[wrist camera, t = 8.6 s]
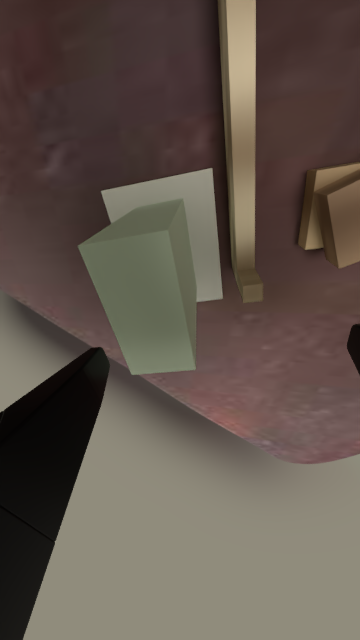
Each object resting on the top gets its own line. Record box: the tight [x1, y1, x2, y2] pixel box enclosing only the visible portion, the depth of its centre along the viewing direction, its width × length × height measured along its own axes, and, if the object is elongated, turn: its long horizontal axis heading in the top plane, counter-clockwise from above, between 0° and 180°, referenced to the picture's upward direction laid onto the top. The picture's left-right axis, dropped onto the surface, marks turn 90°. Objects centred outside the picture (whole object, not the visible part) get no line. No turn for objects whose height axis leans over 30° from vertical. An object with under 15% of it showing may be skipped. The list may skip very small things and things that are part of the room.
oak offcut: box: [298, 162, 360, 250], centre depth 16 cm, size 5×7×2 cm
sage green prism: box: [78, 198, 197, 375], centre depth 14 cm, size 7×4×10 cm, turn 10°
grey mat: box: [101, 168, 223, 302], centre depth 19 cm, size 10×8×1 cm
